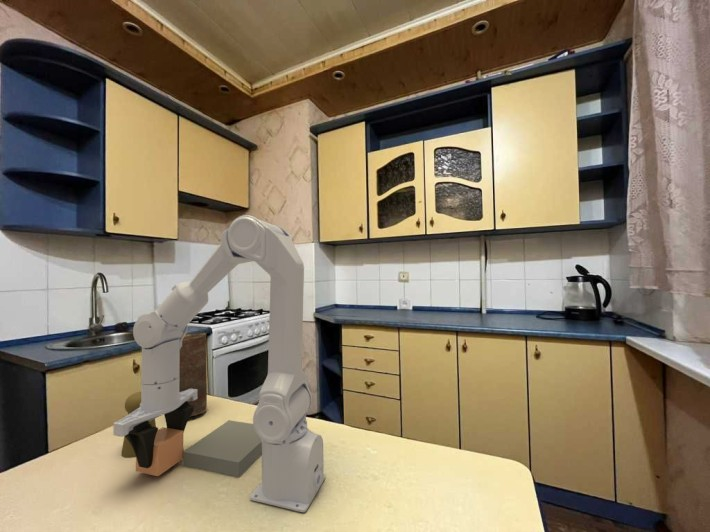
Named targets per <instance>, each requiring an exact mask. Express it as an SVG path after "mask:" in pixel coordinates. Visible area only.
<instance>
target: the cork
mask: <svg viewBox="0 0 710 532" xmlns="http://www.w3.org/2000/svg"><path fill="white" fill-rule="evenodd" d="M140 404H141V391H138V392H135V393H132V394H130V395H129V396H128V397H127V398H126V400H125V402H124V409H125V412H126V413H127V415H129V414H130V413H132V412H133V411H135V410H136V409H138V408H139V407H140ZM149 424H151V426H152V427H157V424H156V418H155V419H153V420H151V421H149ZM120 456H121V457H123V458H125V459H127V458H129V459H130V458H131V459H132V458H136V455H135V452H134V450H133V448H132V446H131V444H130V442H129V441H128V440H127V438H126V437H125V436H123V442H122V449H121V454H120Z"/></svg>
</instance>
